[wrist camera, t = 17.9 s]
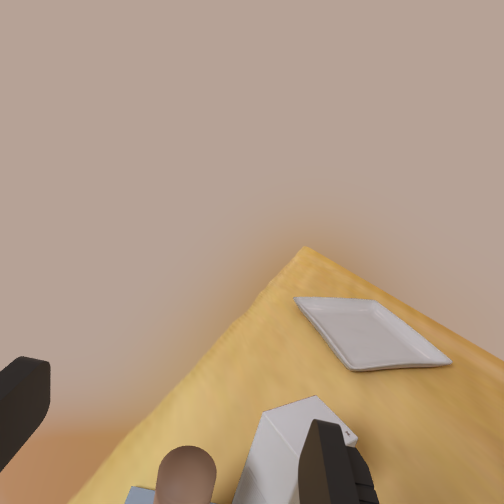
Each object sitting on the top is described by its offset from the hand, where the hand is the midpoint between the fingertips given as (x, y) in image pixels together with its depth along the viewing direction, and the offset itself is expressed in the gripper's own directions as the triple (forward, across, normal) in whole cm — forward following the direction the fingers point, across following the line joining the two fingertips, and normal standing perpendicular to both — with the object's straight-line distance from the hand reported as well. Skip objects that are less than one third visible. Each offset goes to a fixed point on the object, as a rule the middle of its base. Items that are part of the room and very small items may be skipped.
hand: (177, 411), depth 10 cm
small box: (+17, -10, +30) cm, 36 cm away
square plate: (+61, -32, +31) cm, 75 cm away
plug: (+11, 0, +29) cm, 31 cm away
